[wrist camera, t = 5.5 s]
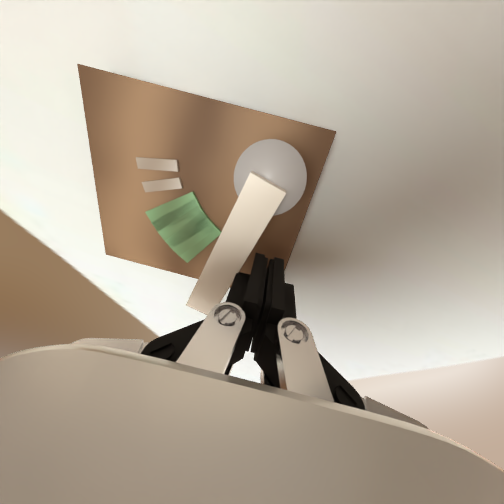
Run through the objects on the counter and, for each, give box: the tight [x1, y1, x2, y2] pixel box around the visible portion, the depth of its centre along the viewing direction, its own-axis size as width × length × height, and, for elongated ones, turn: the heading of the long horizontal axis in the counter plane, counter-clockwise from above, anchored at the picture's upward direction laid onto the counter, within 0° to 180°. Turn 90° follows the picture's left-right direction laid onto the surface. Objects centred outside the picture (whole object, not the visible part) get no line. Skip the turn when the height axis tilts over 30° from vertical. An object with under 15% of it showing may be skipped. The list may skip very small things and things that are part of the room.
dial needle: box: [186, 139, 307, 315], centre depth 11 cm, size 10×3×4 cm, turn 153°
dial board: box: [78, 64, 336, 288], centre depth 13 cm, size 13×11×2 cm
